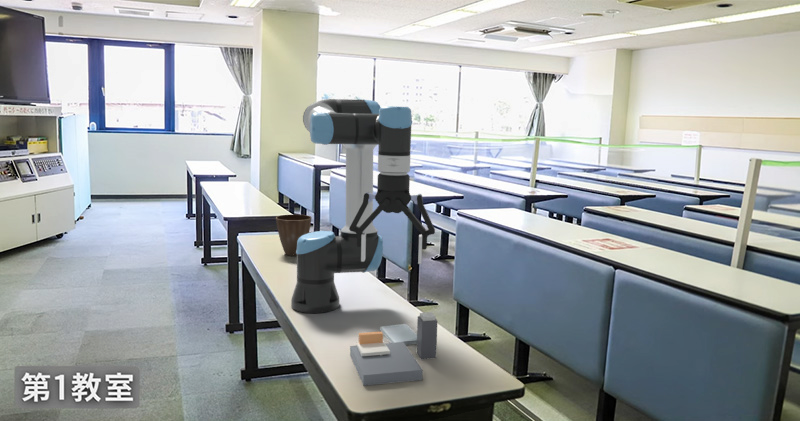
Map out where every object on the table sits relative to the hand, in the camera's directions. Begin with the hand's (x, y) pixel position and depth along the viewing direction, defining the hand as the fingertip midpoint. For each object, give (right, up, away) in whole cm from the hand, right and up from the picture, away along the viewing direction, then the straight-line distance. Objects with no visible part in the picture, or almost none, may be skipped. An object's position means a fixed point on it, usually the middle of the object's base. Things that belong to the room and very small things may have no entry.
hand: (391, 261), depth 141 cm
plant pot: (-43, -7, +111) cm, 119 cm away
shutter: (-5, -22, +5) cm, 23 cm away
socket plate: (-2, -26, +2) cm, 26 cm away
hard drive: (+2, -23, +22) cm, 32 cm away
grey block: (+9, -25, +9) cm, 28 cm away
